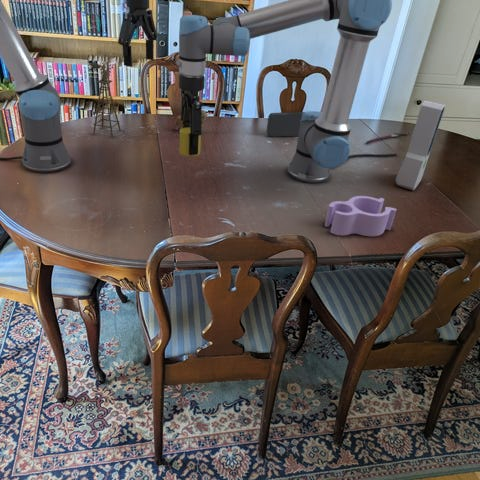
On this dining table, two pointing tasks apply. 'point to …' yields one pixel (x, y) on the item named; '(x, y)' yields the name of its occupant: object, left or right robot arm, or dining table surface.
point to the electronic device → (420, 145)
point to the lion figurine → (203, 117)
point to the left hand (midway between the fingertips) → (139, 62)
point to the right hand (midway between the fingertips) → (190, 149)
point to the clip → (359, 216)
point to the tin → (187, 142)
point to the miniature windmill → (105, 81)
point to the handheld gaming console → (284, 124)
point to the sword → (384, 137)
